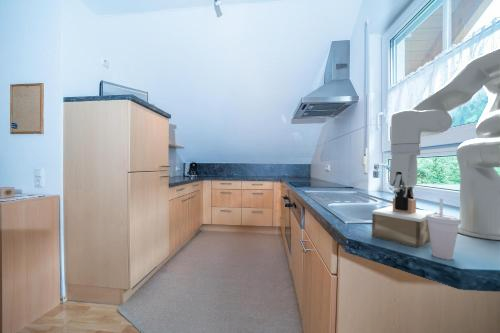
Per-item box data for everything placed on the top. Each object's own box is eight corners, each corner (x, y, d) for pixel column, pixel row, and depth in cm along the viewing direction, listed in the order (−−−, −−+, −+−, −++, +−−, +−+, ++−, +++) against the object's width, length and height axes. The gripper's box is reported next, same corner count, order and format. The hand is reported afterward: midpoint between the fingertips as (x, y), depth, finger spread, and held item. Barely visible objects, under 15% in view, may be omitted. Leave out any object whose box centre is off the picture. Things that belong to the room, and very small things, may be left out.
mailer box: (391, 227, 77) (392, 208, 77) (435, 236, 67) (435, 214, 67) (372, 236, 67) (372, 213, 67) (419, 248, 57) (419, 222, 57)
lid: (391, 208, 77) (392, 194, 77) (436, 214, 67) (436, 199, 67) (371, 213, 67) (371, 198, 67) (420, 222, 57) (420, 204, 57)
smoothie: (445, 251, 55) (446, 197, 55) (468, 262, 49) (469, 201, 49) (419, 250, 56) (419, 196, 56) (438, 261, 49) (439, 200, 49)
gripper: (400, 152, 75) (400, 204, 75) (380, 149, 65) (379, 210, 65) (427, 151, 69) (427, 208, 69) (410, 148, 59) (409, 214, 59)
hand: (404, 208), depth 67 cm, fingers closed on lid, 4 cm apart
